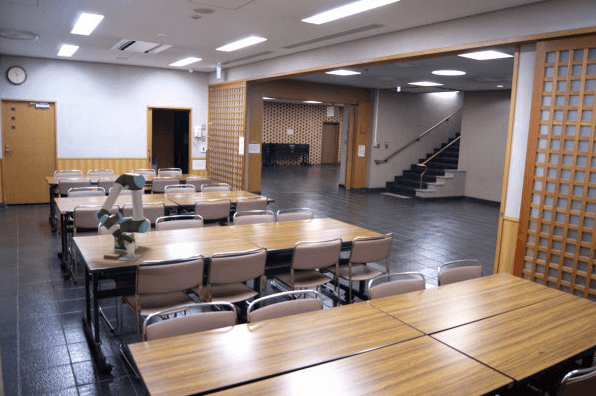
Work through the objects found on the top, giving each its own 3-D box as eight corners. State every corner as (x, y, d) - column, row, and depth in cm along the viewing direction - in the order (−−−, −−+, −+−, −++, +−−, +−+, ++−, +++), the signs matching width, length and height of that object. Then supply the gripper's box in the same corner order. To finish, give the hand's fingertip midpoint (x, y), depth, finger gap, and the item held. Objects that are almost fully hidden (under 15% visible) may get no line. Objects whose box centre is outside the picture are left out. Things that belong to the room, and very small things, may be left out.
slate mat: (127, 254, 385) (127, 253, 385) (143, 255, 384) (143, 254, 384) (117, 260, 367) (117, 259, 367) (134, 261, 366) (134, 260, 366)
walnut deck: (112, 253, 384) (112, 250, 384) (124, 254, 383) (124, 251, 383) (103, 258, 370) (103, 255, 370) (116, 259, 369) (116, 256, 369)
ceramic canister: (129, 255, 378) (129, 243, 377) (135, 256, 378) (135, 244, 376) (126, 257, 373) (126, 245, 371) (132, 258, 372) (132, 246, 371)
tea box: (124, 253, 385) (124, 236, 383) (113, 252, 387) (113, 235, 385) (134, 249, 400) (134, 232, 398) (124, 248, 402) (123, 231, 400)
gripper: (119, 230, 386) (137, 249, 387) (104, 237, 362) (123, 257, 363) (125, 225, 385) (143, 243, 386) (111, 231, 361) (129, 251, 362)
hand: (133, 250), depth 374 cm, fingers open, 13 cm apart
